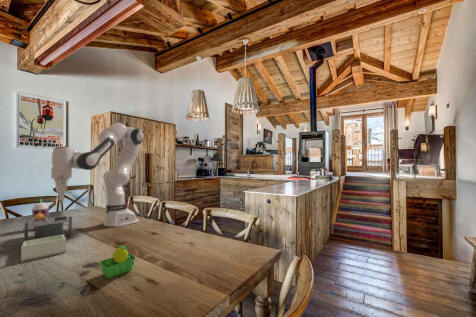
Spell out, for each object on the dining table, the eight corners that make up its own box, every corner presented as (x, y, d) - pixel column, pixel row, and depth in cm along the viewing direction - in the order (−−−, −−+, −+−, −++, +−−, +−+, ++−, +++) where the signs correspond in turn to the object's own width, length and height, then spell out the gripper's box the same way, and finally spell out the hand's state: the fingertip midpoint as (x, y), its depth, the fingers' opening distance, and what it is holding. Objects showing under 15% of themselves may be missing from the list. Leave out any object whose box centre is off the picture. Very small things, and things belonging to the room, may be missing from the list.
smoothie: (40, 230, 138) (41, 199, 138) (27, 230, 138) (28, 199, 138) (52, 227, 146) (52, 197, 147) (40, 226, 146) (40, 197, 147)
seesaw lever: (65, 218, 140) (65, 213, 140) (69, 221, 119) (69, 214, 120) (31, 223, 129) (31, 217, 130) (29, 227, 109) (29, 219, 109)
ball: (43, 219, 133) (43, 212, 133) (43, 220, 130) (43, 213, 130) (34, 220, 130) (34, 213, 130) (34, 221, 127) (34, 214, 127)
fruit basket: (127, 264, 94) (128, 238, 94) (137, 270, 88) (137, 243, 88) (98, 274, 85) (98, 246, 85) (106, 282, 79) (107, 252, 80)
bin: (63, 243, 117) (64, 230, 117) (66, 252, 105) (66, 238, 105) (23, 251, 106) (23, 237, 106) (21, 262, 95) (21, 246, 95)
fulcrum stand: (71, 233, 132) (71, 216, 133) (71, 235, 130) (72, 217, 130) (24, 242, 119) (25, 222, 119) (24, 243, 116) (24, 223, 116)
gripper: (70, 175, 115) (69, 201, 114) (67, 174, 130) (66, 196, 129) (55, 176, 110) (54, 202, 110) (53, 174, 126) (52, 197, 125)
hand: (60, 199), depth 120 cm, fingers open, 7 cm apart
